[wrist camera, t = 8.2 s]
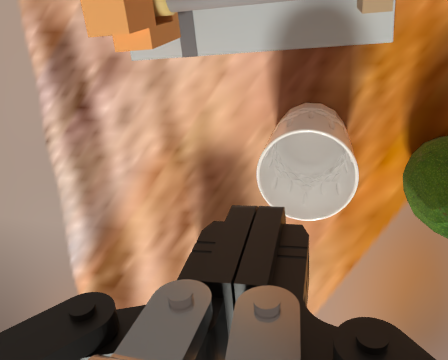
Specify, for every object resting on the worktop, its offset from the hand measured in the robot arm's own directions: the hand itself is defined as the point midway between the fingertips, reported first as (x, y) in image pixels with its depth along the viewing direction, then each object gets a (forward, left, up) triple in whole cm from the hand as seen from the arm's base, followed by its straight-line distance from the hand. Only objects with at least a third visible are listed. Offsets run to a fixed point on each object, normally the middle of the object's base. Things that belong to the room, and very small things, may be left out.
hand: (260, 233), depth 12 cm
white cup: (0, +8, -31) cm, 32 cm away
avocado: (-12, +11, -31) cm, 35 cm away
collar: (+12, -6, -27) cm, 31 cm away
